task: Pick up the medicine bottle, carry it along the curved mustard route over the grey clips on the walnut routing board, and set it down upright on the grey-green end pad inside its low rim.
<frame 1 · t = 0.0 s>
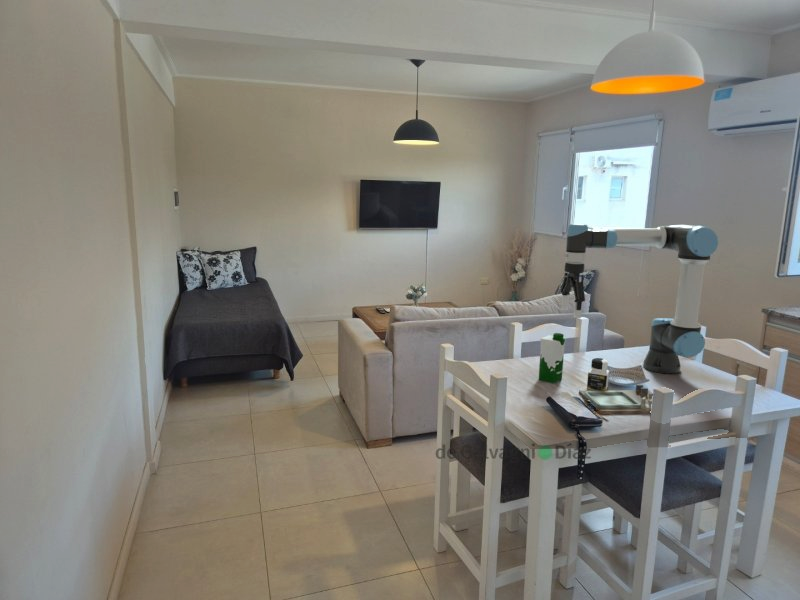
hand: (570, 314, 222), 28 cm above the table, fingers open, 13 cm apart
milk carton: (550, 380, 226), on the table
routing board: (625, 402, 202), on the table
medicine bottle: (597, 388, 217), on the table
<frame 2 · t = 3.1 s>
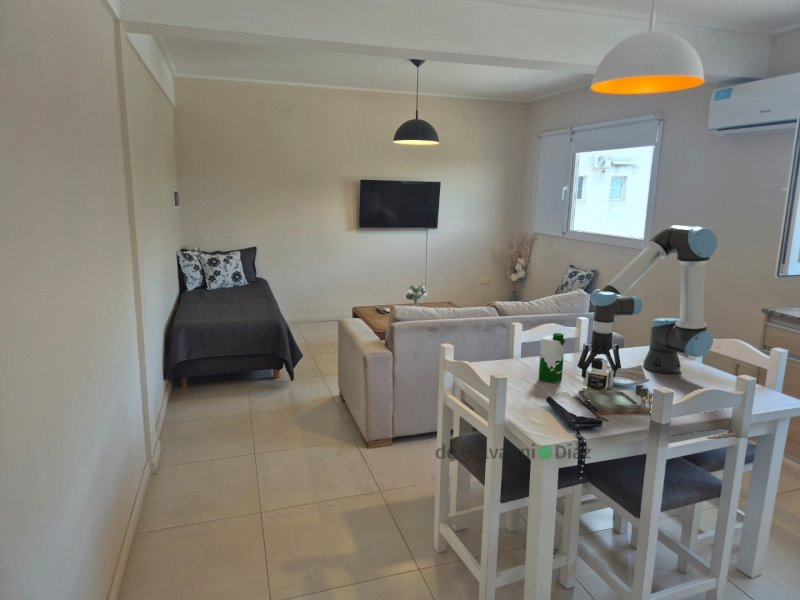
hand: (597, 385, 217), 1 cm above the table, fingers closed on medicine bottle, 9 cm apart
medicine bottle: (597, 388, 217), on the table, touching gripper
everything else where it was.
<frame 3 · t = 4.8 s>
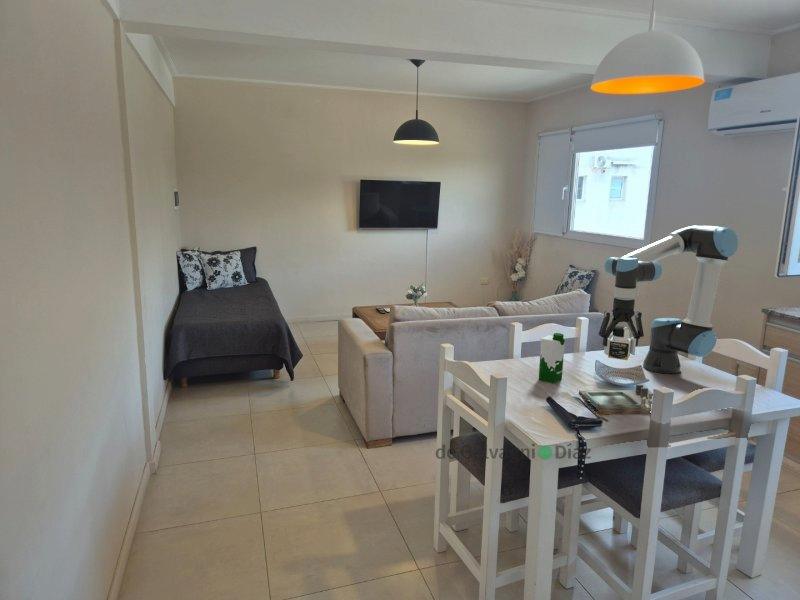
hand: (619, 354, 212), 15 cm above the table, fingers closed on medicine bottle, 9 cm apart
medicine bottle: (618, 357, 212), point 14 cm above the table, touching gripper
everything else where it was.
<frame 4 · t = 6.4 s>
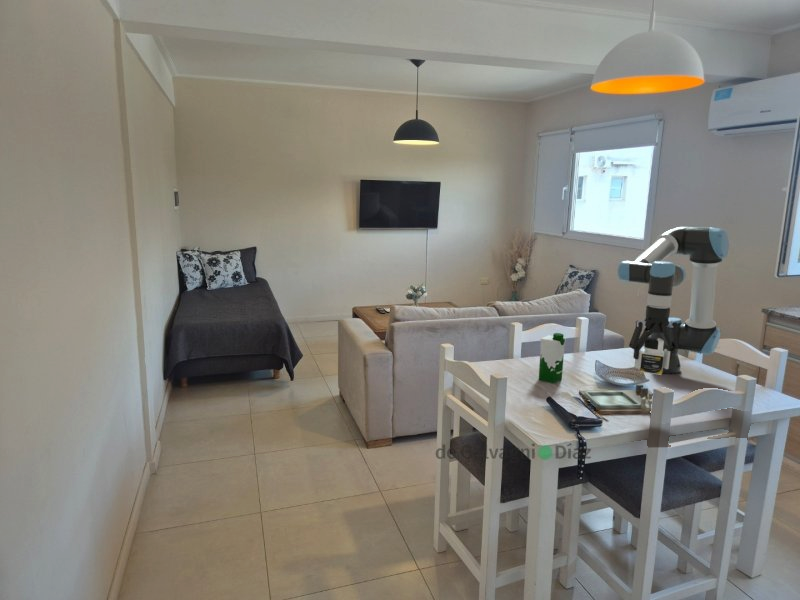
hand: (651, 367, 192), 16 cm above the table, fingers closed on medicine bottle, 9 cm apart
medicine bottle: (650, 371, 192), point 15 cm above the table, touching gripper
everything else where it was.
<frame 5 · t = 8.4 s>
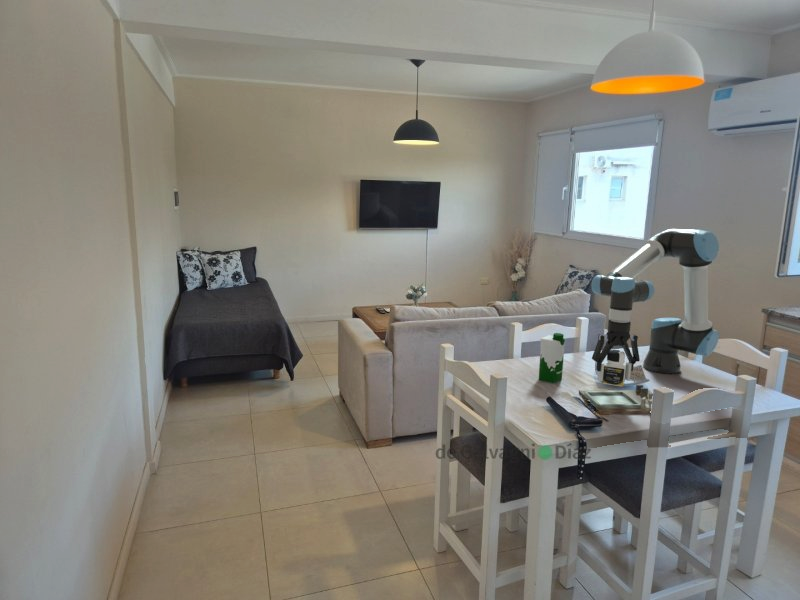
hand: (613, 379, 199), 10 cm above the table, fingers closed on medicine bottle, 9 cm apart
medicine bottle: (613, 382, 199), point 8 cm above the table, touching gripper
everything else where it was.
when the fingers open (4 cm above the table, at t = 9.9 s): medicine bottle drops 2 cm, resting on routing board.
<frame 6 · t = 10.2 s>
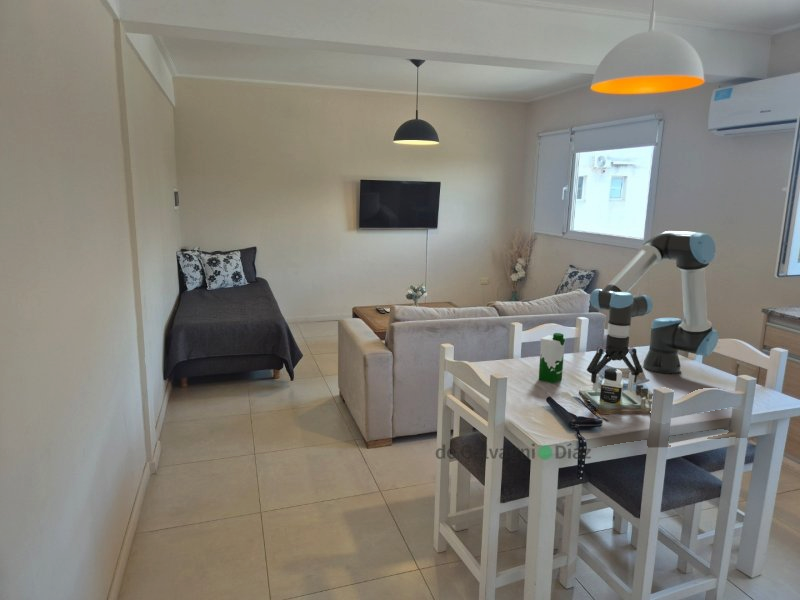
hand: (612, 391, 200), 5 cm above the table, fingers open, 13 cm apart
medicine bottle: (610, 401, 200), point 1 cm above the table, touching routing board
everything else where it was.
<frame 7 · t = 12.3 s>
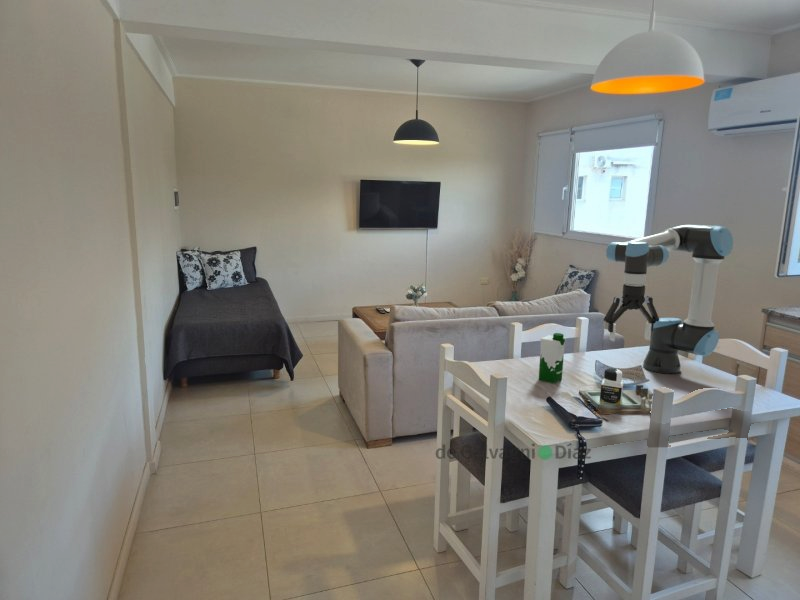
hand: (629, 340, 203), 23 cm above the table, fingers open, 13 cm apart
nothing on the table moved.
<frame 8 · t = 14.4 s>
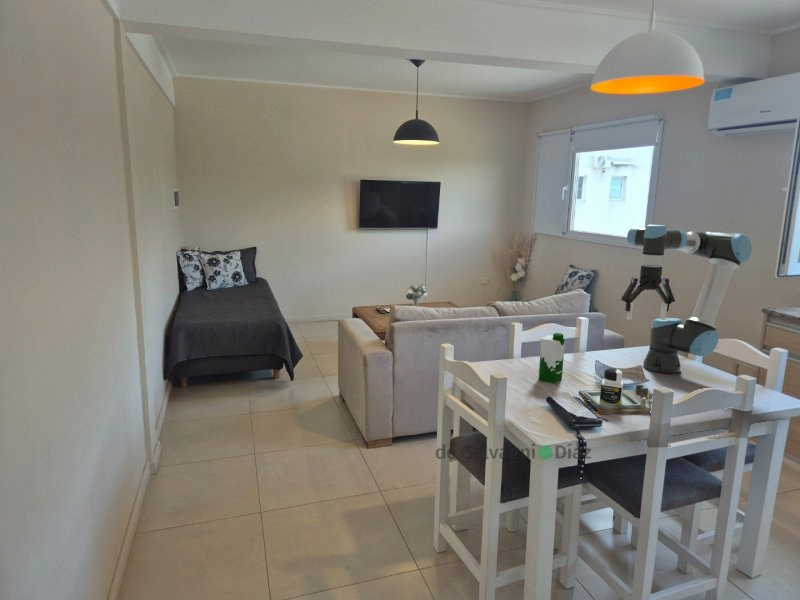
hand: (645, 319, 211), 29 cm above the table, fingers open, 13 cm apart
nothing on the table moved.
at the end: medicine bottle inside the target area (0.1 cm from its centre), point 1.1 cm above the table; medicine bottle tilted 0°; the gripper is holding nothing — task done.
